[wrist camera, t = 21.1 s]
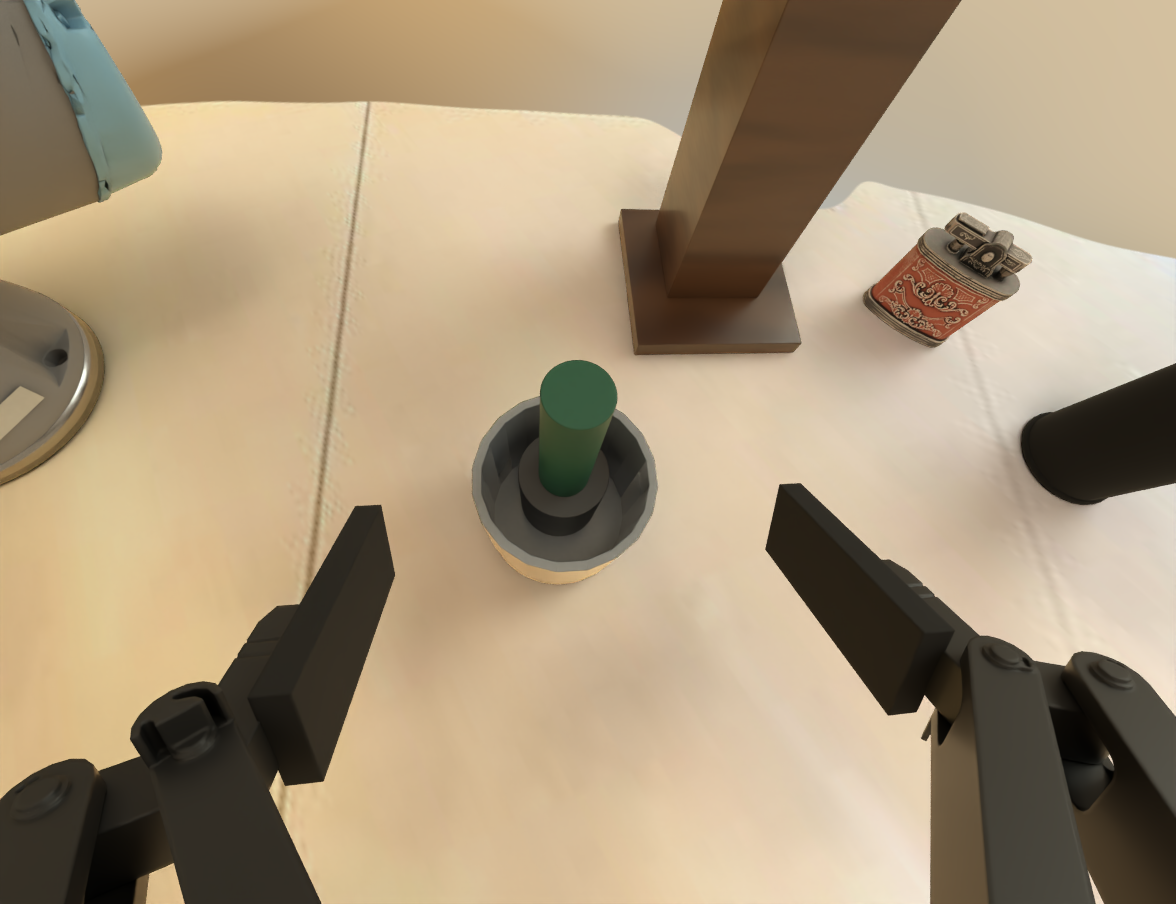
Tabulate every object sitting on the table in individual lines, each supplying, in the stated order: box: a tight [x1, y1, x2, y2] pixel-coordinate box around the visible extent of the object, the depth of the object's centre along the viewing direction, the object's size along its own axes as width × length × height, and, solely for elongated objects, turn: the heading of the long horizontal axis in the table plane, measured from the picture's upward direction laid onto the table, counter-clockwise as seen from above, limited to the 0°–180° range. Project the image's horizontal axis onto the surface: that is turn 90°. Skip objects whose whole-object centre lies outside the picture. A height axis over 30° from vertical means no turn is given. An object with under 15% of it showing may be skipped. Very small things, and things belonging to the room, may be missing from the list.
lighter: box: [863, 212, 1032, 347], centre depth 39 cm, size 8×3×10 cm, turn 52°
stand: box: [619, 0, 961, 355], centre depth 28 cm, size 15×14×31 cm
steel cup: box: [472, 396, 658, 585], centre depth 30 cm, size 10×10×10 cm
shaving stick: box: [518, 360, 617, 536], centre depth 27 cm, size 17×5×5 cm
